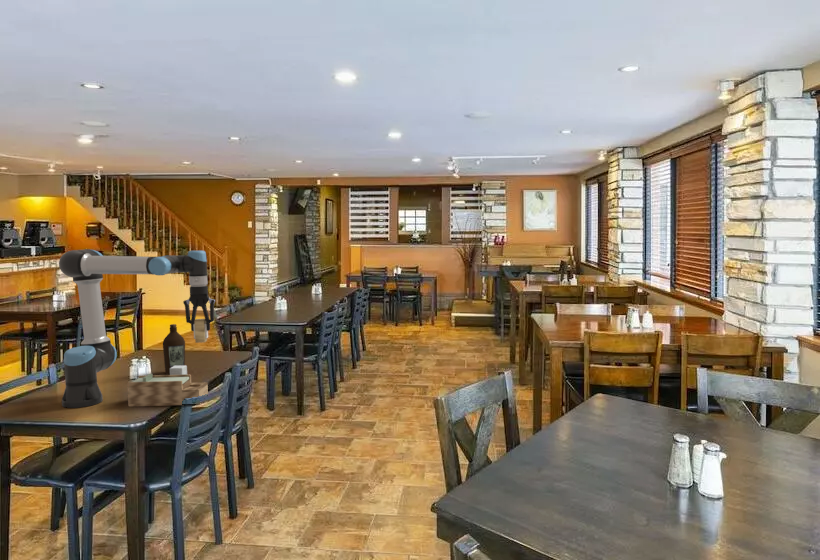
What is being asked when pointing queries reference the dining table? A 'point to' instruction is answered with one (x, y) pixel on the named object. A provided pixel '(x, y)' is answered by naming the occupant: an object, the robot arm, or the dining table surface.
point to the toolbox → (164, 391)
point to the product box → (178, 370)
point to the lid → (161, 379)
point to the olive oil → (173, 349)
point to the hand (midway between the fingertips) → (201, 338)
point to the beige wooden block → (200, 330)
